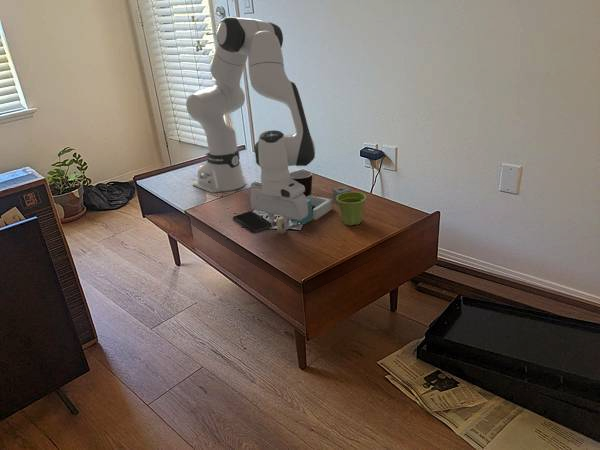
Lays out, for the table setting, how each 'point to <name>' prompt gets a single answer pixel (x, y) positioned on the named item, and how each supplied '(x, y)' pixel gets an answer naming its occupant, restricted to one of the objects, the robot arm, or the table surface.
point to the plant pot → (351, 207)
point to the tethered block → (303, 221)
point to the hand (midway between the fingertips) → (280, 226)
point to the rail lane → (320, 205)
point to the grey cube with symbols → (339, 192)
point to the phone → (252, 221)
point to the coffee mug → (303, 180)
